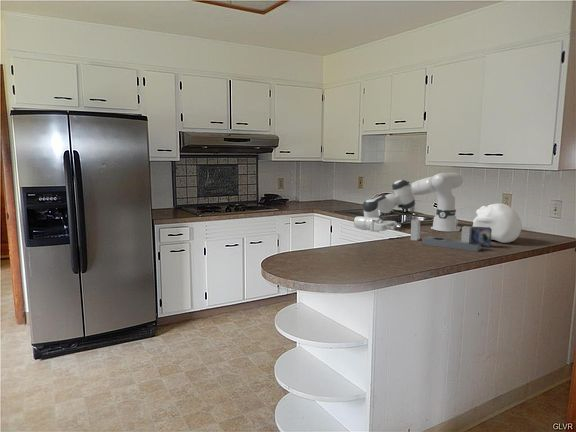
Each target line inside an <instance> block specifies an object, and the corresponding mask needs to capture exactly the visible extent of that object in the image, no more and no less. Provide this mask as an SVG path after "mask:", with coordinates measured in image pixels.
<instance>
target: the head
mask: <svg viewBox="0 0 576 432" xmlns="http://www.w3.org/2000/svg"><path fill="white" fill-rule="evenodd" d="M475 214H476V216H475V218H474V219H473V220H472V222H473V223H472V227H490V228H491V229H492V232H491V241H493V240H494V241H497V242H499V243H501V244H508V243H511V242H514V241H515V240H517V239H518V238H519V236H520V234H521V232H522V221H521V217H520V216H519V214H518V213H517V212H516V211H515V209H513V208H512V207H511V206H510V205H507V204H505V203H500V202H499V203H492V204H489V205H487V206H486V205H482V206H481V207H479V208H478V209H476V211H475Z"/></svg>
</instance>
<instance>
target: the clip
mask: <svg viewBox="0 0 576 432" xmlns="http://www.w3.org/2000/svg"><path fill="white" fill-rule="evenodd" d="M410 220H411V221H410V241H420V237H421V219H410Z"/></svg>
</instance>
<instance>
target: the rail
mask: <svg viewBox="0 0 576 432" xmlns="http://www.w3.org/2000/svg"><path fill="white" fill-rule="evenodd" d="M472 227H473V226H472ZM472 227H470V226H467V225H464V226H462V227H461V239H453V238H446V237H445V238H444V237H439V236H438V237H436V236H431V235H430V236H428V235H427V236H424V237H422V238H421V245H426V246H427V245H428V246H433V247H442V248H446V249H447V248H449V249H456V250H462V251H470V252H479V251H481V250H482V247H481V244H482V243H478V242H471V234H472Z"/></svg>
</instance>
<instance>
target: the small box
mask: <svg viewBox="0 0 576 432" xmlns="http://www.w3.org/2000/svg"><path fill="white" fill-rule="evenodd" d="M469 227H472V234H471V242H478V243H482V244H481V248H491V241H492V240H491V232H492V229H491V228H490V227H473V225H472V226H469Z"/></svg>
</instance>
